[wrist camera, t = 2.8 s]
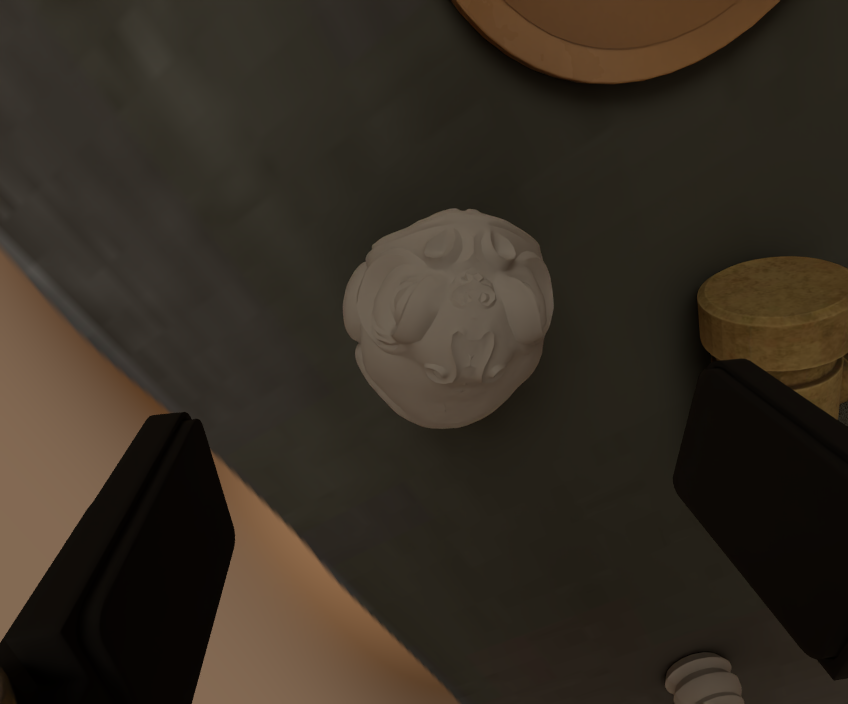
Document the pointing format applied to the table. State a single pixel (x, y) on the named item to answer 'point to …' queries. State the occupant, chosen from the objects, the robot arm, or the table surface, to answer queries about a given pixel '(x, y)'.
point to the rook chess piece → (703, 680)
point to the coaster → (610, 34)
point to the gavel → (782, 323)
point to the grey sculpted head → (449, 316)
